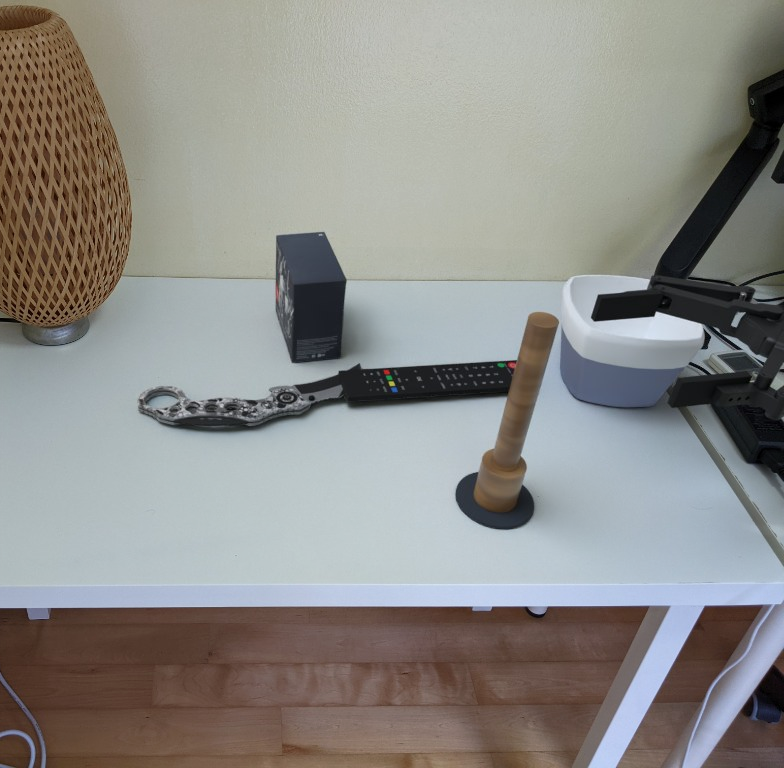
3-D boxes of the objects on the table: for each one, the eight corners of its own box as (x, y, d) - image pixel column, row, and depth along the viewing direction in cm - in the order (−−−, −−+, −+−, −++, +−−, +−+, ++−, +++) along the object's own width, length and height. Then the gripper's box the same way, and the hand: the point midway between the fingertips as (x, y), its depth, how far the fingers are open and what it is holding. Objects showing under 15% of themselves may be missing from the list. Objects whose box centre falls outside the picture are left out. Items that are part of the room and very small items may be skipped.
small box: (273, 310, 110) (274, 233, 102) (320, 306, 111) (325, 229, 103) (290, 364, 100) (293, 282, 92) (342, 359, 100) (349, 278, 93)
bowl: (553, 413, 92) (577, 335, 86) (535, 341, 105) (555, 268, 98) (687, 425, 91) (722, 348, 84) (653, 351, 103) (681, 278, 96)
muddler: (525, 503, 80) (580, 325, 67) (493, 519, 78) (543, 338, 65) (496, 477, 83) (543, 301, 70) (464, 491, 81) (506, 313, 68)
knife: (360, 358, 98) (383, 403, 90) (359, 368, 99) (382, 414, 91) (135, 381, 94) (139, 431, 86) (136, 392, 95) (140, 442, 87)
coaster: (550, 511, 80) (551, 509, 79) (491, 540, 76) (492, 537, 76) (496, 464, 85) (497, 461, 85) (439, 489, 82) (440, 486, 82)
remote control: (337, 379, 96) (338, 370, 95) (519, 368, 100) (522, 359, 99) (347, 406, 92) (348, 397, 91) (536, 393, 95) (539, 385, 95)
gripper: (922, 445, 67) (698, 471, 64) (739, 295, 86) (560, 310, 83) (972, 375, 62) (733, 400, 59) (766, 234, 81) (578, 247, 78)
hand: (631, 347), depth 71 cm, fingers open, 13 cm apart
